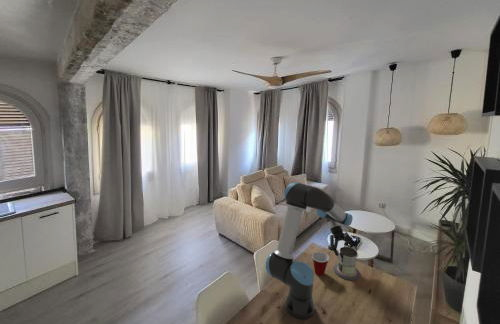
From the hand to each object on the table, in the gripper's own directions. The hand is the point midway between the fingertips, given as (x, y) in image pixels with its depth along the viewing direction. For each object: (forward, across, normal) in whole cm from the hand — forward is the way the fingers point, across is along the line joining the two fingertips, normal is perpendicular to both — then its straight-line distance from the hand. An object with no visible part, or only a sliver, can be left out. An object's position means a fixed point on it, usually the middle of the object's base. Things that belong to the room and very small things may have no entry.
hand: (348, 258), depth 152 cm
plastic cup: (+3, +18, -11) cm, 22 cm away
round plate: (+7, 0, -7) cm, 10 cm away
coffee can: (+6, +1, -6) cm, 9 cm away
